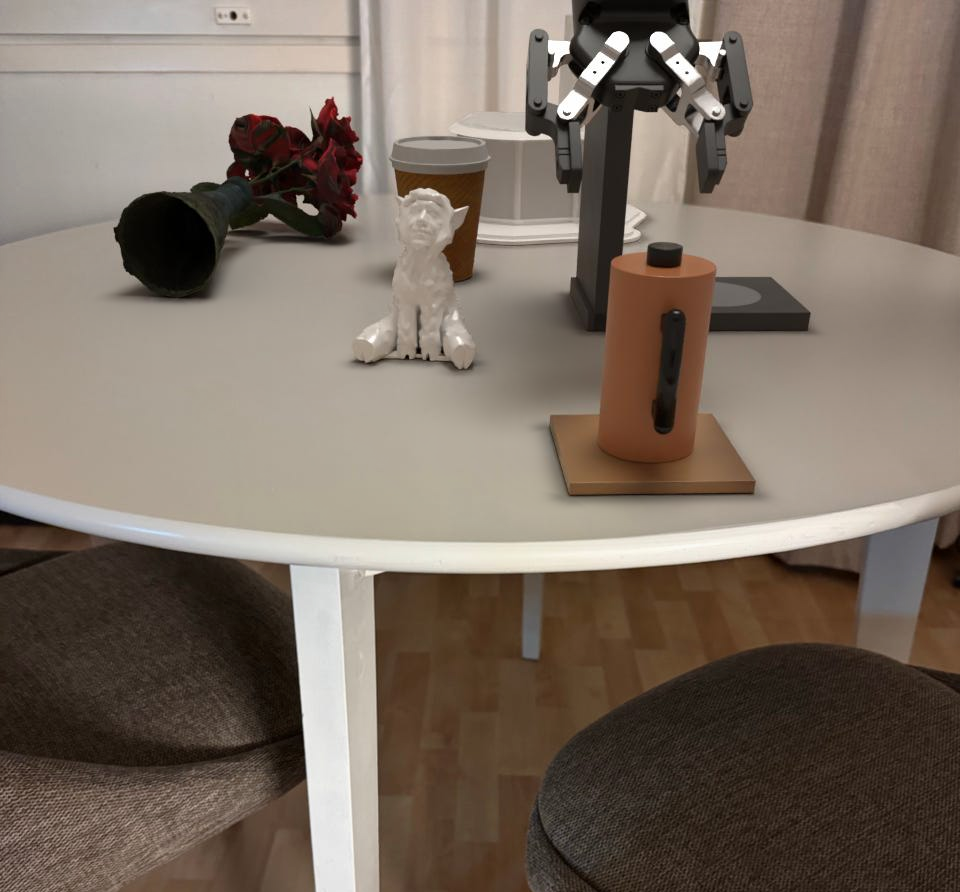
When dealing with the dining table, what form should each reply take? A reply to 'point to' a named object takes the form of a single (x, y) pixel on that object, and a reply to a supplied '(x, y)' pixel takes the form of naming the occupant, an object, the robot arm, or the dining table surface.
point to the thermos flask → (654, 353)
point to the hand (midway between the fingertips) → (642, 185)
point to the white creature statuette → (421, 289)
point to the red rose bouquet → (243, 199)
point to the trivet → (602, 473)
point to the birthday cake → (528, 178)
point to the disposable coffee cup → (446, 185)
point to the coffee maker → (603, 238)
